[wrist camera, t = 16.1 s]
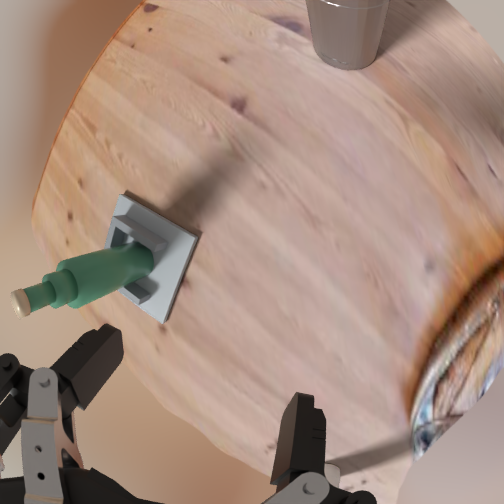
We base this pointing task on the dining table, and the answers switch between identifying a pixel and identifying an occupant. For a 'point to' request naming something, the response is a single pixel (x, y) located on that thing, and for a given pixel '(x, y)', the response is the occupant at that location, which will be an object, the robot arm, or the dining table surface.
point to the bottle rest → (164, 253)
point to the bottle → (86, 278)
